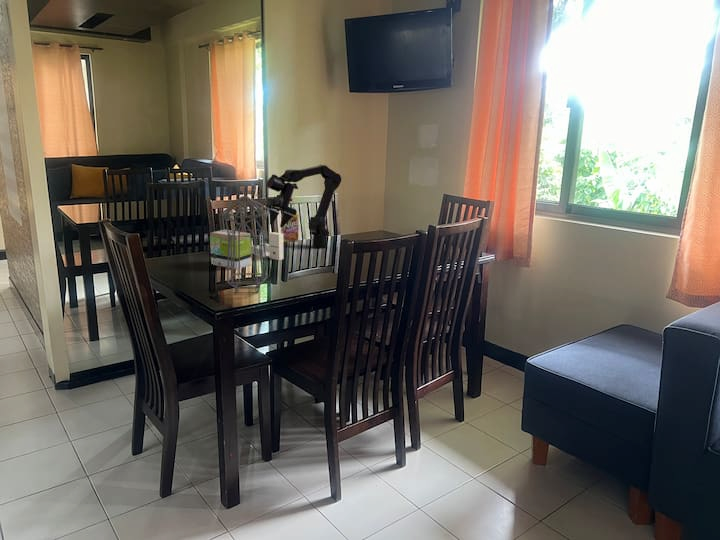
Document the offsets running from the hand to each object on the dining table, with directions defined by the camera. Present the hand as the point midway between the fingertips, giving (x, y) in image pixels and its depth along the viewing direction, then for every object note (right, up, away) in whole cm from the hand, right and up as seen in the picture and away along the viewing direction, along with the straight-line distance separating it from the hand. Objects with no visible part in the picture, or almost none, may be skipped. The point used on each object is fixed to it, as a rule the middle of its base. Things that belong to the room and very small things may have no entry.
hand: (275, 225), depth 253 cm
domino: (+1, -16, -7) cm, 17 cm away
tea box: (-16, -19, -21) cm, 33 cm away
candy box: (+2, -6, +34) cm, 34 cm away
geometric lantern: (-1, -29, -58) cm, 65 cm away
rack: (-6, -13, +2) cm, 15 cm away
